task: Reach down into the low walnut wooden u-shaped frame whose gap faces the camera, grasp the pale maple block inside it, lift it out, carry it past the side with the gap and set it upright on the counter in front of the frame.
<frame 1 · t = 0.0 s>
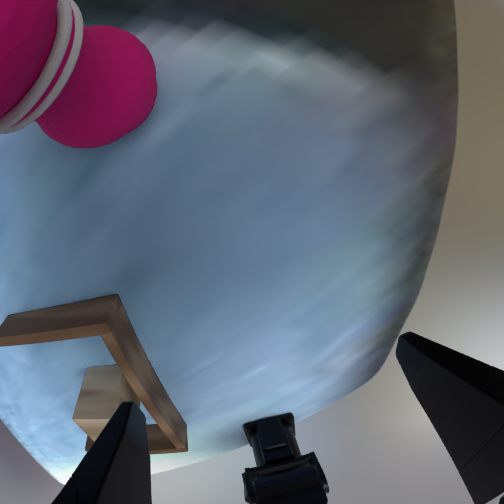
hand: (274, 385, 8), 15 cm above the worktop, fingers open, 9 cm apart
maple block: (114, 379, 26), on the worktop
pepper mill: (115, 95, 16), on the worktop
wooden u-shaped frame: (99, 381, 25), on the worktop
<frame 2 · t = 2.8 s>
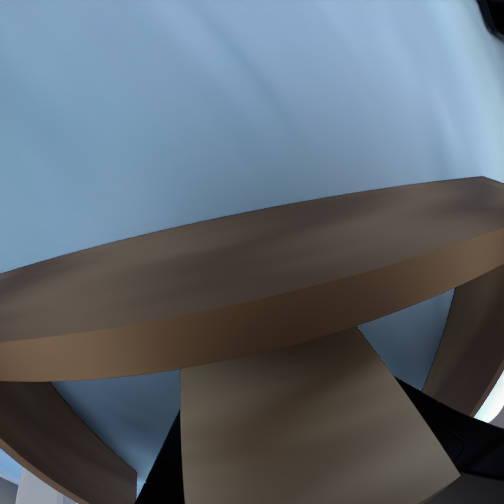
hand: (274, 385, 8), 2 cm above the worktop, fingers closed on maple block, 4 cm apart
maple block: (263, 352, 10), on the worktop, touching gripper
salt shaker: (52, 471, 13), on the worktop
wooden u-shaped frame: (270, 387, 10), on the worktop
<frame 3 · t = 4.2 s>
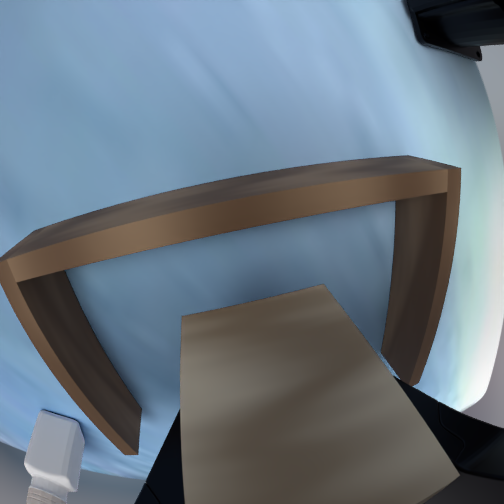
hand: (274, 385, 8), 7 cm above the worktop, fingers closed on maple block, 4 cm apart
maple block: (263, 352, 10), point 5 cm above the worktop, touching gripper
salt shaker: (63, 422, 17), on the worktop
wooden u-shaped frame: (248, 310, 15), on the worktop
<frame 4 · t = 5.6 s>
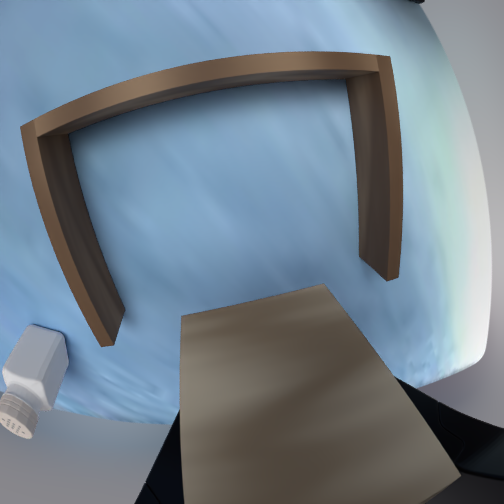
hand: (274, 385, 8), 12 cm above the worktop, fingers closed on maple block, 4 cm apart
maple block: (263, 352, 10), point 10 cm above the worktop, touching gripper
salt shaker: (50, 341, 20), on the worktop
wooden u-shaped frame: (224, 187, 17), on the worktop
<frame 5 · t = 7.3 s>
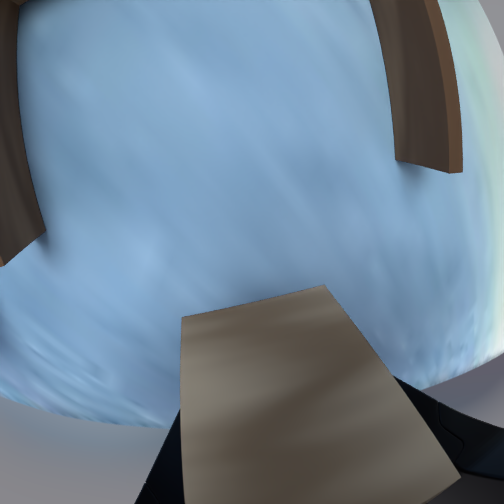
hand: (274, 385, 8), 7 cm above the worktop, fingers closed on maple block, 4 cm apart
maple block: (263, 353, 10), point 5 cm above the worktop, touching gripper
wooden u-shaped frame: (196, 33, 9), on the worktop
when the fingers open (3 cm above the worktop, at t = 8.7 s): maple block drops 2 cm, on the worktop.
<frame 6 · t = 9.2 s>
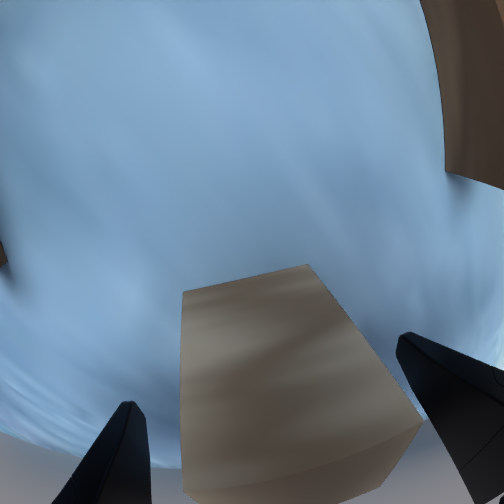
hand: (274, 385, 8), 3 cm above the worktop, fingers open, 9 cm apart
maple block: (255, 327, 11), on the worktop
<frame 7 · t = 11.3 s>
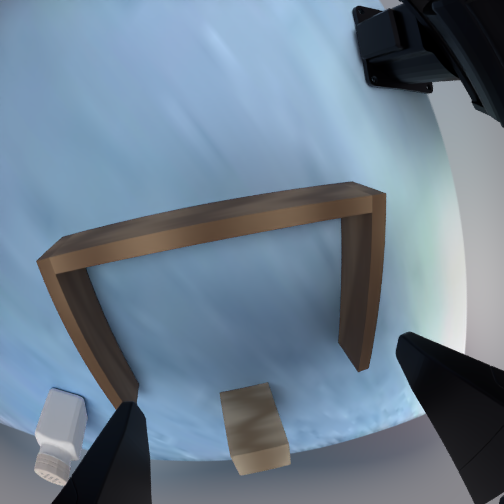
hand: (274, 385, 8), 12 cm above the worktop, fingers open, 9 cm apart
maple block: (247, 401, 25), on the worktop
salt shaker: (70, 400, 22), on the worktop
wooden u-shaped frame: (223, 301, 20), on the worktop
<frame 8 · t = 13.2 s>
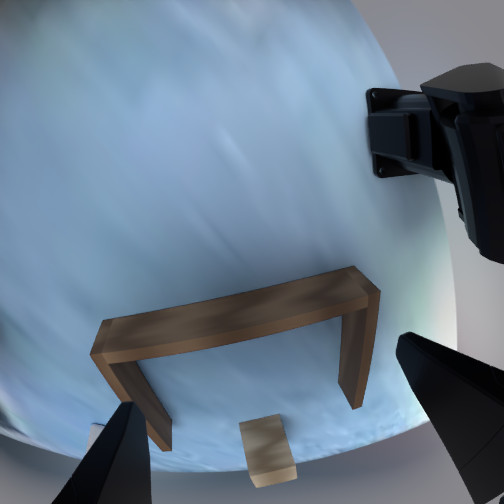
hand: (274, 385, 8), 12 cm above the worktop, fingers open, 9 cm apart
maple block: (261, 427, 29), on the worktop
salt shaker: (108, 431, 26), on the worktop
wooden u-shaped frame: (243, 362, 24), on the worktop
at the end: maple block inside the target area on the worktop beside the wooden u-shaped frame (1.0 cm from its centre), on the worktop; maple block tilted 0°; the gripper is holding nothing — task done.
